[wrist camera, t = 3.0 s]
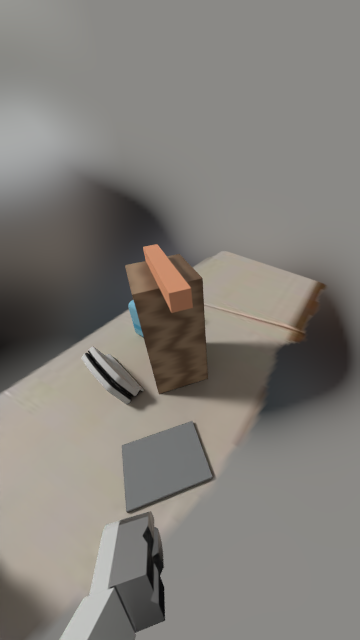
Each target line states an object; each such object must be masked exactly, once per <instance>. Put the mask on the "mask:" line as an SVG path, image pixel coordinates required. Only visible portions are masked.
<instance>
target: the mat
mask: <svg viewBox="0 0 360 640" xmlns="http://www.w3.org/2000/svg"><path fill="white" fill-rule="evenodd" d="M122 456H123V471H124V485H125V500H126V512H127V513H128V512H130V511H133V510H135V509H138V508H140V507H142V506H145V505H147V504H150V503H152V502H155V501H157V500H160V499H162V498H165V497H167V496H170V495H172V494H175V493H177V492H180V491H182V490H185V489H187V488H190V487H192V486H195V485H197V484H200V483H202V482H204V481H207V480H209V479H212V478H213V477H212V474H211V471H210V469H209V466H208V463H207V460H206V457H205V455H204V452H203V449H202V446H201V444H200V441H199V438H198V435H197V433H196V430H195V427H194V424H193V422H192V421H191V422H188V423H185V424H182V425H179V426H176V427H173V428H171V429H168V430H165V431H162V432H159V433H156V434H153V435H150V436H148V437H145V438H142V439H139V440H136V441H133V442H130V443H128V444H125V445H122Z"/></svg>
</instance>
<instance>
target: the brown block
mask: <svg viewBox="0 0 360 640" xmlns="http://www.w3.org/2000/svg"><path fill="white" fill-rule="evenodd" d="M167 258H168V259H169V260H170V261H171V263H172V264H173V265H174V267H175V268H176V269H177V270H178V272H179V273H180V274H181V276H182V277H183V278H184V280H185V281H186V282H187V283H188V285H189V286H190V287H191V292H192V303H193V308H190V309H186V310H182V311H178V312H174V313H171V311H170V309H169V307H168V305H167V303H166V300H165V298H164V296H163V294H162V292H161V290H160V288H159V286H158V284H157V282H156V280H155V278H154V276H153V274H152V272H151V270H150V268H149V266H148V264H147V262H146V261H144V262H139V263H134V264H129V265H126V266H125V267H126V271H127V276H128V280H129V284H130V288H131V292H132V296H133V300H134V303H135V307H136V311H137V315H138V318H139V322H140V326H141V329H142V333H143V337H144V340H145V344H146V348H147V352H148V355H149V359H150V363H151V366H152V370H153V374H154V377H155V381H156V385H157V389H158V392H159V394H161V393H164V392H167V391H170V390H173V389H176V388H179V387H183V386H186V385H189V384H192V383H195V382H198V381H202V380H205V379H208V373H207V354H206V336H205V317H204V299H203V280H202V277H201V276H200V275H199V274H198V273H197V272H196V271H195V270H194V269H193V268H192V267H191V266H190V265H189V264H188V263H187V262H186V261H185V260H184V258H183V257H182V256H181V255H180V254H177V255H172V256H168V257H167Z"/></svg>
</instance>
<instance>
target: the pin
mask: <svg viewBox="0 0 360 640" xmlns="http://www.w3.org/2000/svg"><path fill="white" fill-rule="evenodd" d="M143 249H144V254H145V259H146V262H147V264H148V266H149V268H150V270H151V272H152V274H153V276H154V278H155V280H156V282H157V284H158V286H159V288H160V290H161V292H162V294H163V296H164V298H165V300H166V303H167V305H168V307H169V309H170V311H171V313H174V312H178V311H182V310H186V309H190V308H193V303H192V292H191V287H190V286H189V285H188V283H187V282H186V281H185V280H184V278H183V277H182V276H181V274H180V273H179V272H178V270H177V269H176V268H175V267H174V265H173V264H172V263H171V261H170V260H169V259H168V258H167V256H166V255H165V254H164V252H163V251H162V250H161V249H160V247H159V246H158V245H157V244H156V245H151V246H146V247H143Z"/></svg>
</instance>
